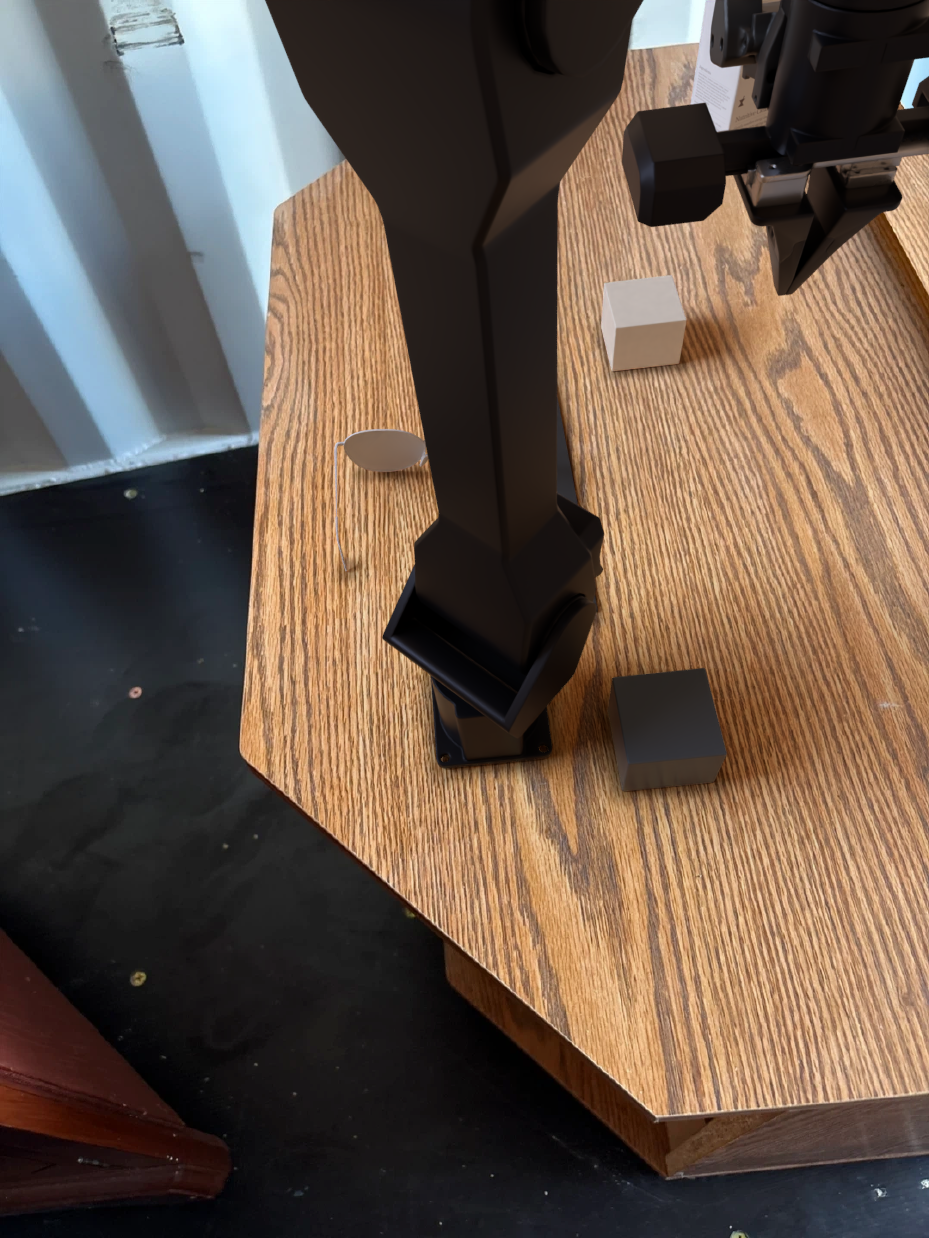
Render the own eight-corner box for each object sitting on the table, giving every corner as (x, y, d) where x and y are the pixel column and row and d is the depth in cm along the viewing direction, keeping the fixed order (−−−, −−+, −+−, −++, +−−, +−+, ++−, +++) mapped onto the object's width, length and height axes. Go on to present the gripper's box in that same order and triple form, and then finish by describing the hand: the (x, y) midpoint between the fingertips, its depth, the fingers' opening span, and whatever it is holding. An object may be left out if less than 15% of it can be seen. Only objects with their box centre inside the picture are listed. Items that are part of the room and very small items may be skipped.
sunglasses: (544, 461, 59) (545, 418, 54) (551, 571, 56) (552, 535, 51) (346, 472, 60) (330, 431, 55) (341, 581, 57) (324, 547, 52)
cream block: (679, 364, 63) (687, 319, 59) (611, 372, 63) (615, 328, 60) (665, 319, 65) (672, 274, 62) (600, 327, 66) (603, 282, 62)
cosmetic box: (722, 164, 75) (758, -33, 63) (682, 134, 78) (708, -61, 66) (799, 133, 77) (849, -66, 64) (756, 104, 80) (796, -91, 67)
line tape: (597, 611, 52) (597, 610, 52) (578, 613, 52) (578, 612, 52) (511, 155, 79) (511, 153, 78) (498, 157, 79) (498, 155, 78)
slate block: (714, 782, 46) (727, 754, 43) (621, 792, 46) (628, 764, 43) (694, 700, 49) (705, 666, 45) (606, 708, 49) (611, 676, 45)
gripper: (1019, -131, 39) (901, 187, 53) (614, -75, 40) (600, 224, 54) (1130, -17, 34) (967, 307, 47) (656, 46, 35) (628, 346, 48)
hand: (782, 290), depth 49 cm, fingers closed
